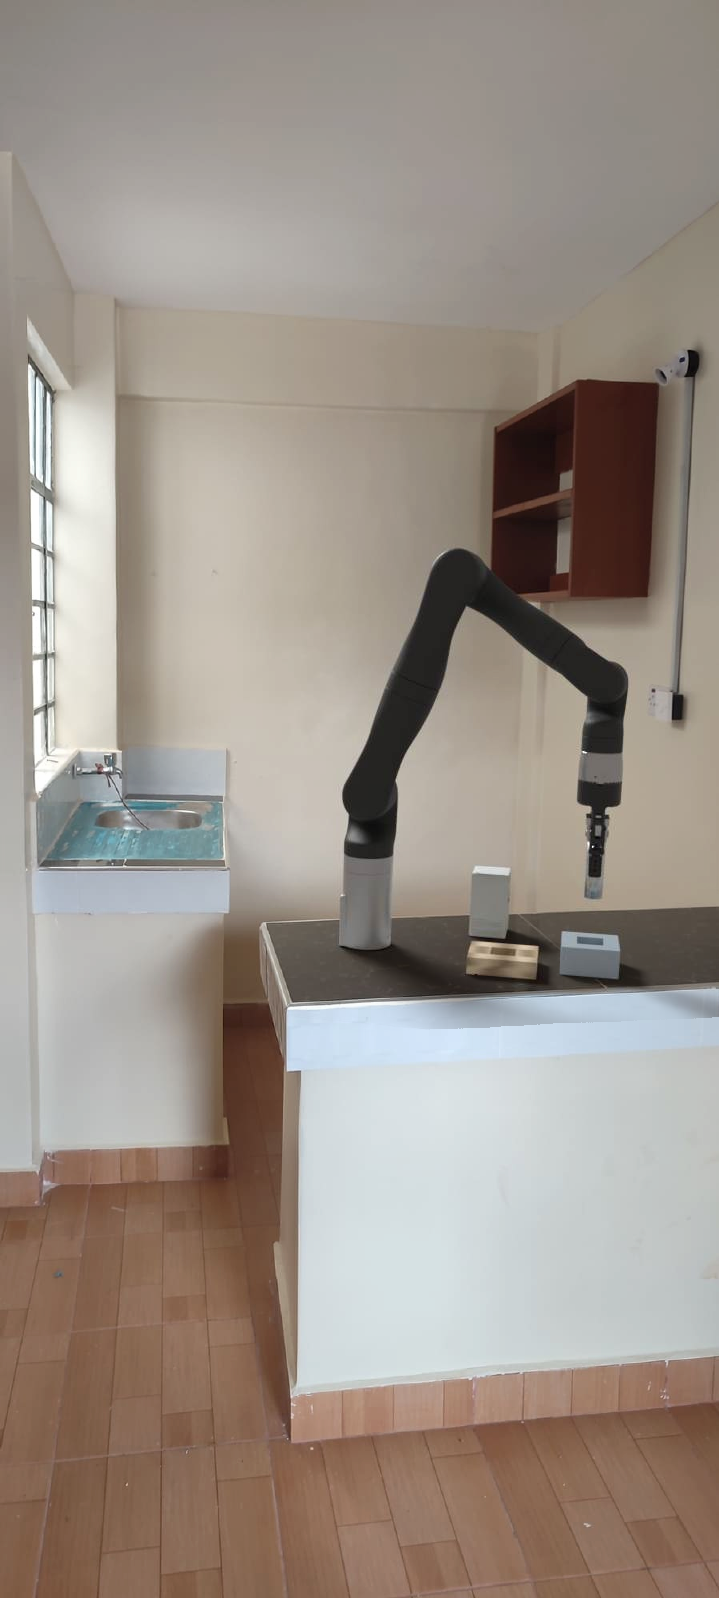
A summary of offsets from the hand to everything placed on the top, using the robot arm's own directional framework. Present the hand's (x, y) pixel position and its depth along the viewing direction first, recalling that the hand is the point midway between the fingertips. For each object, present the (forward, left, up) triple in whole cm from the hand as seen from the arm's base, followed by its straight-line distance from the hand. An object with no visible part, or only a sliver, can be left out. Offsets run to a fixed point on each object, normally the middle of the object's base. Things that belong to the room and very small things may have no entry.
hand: (594, 874), depth 199 cm
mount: (-15, -4, -17) cm, 23 cm away
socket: (0, 0, -17) cm, 17 cm away
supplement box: (-19, +18, -17) cm, 31 cm away
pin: (0, 0, -4) cm, 4 cm away
